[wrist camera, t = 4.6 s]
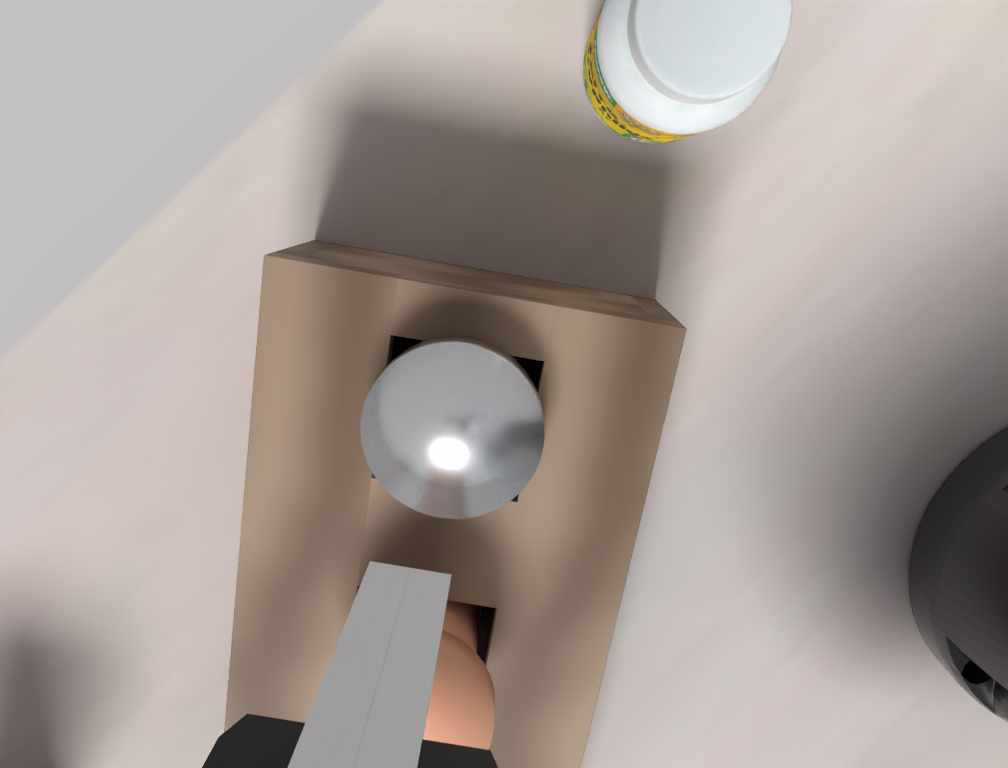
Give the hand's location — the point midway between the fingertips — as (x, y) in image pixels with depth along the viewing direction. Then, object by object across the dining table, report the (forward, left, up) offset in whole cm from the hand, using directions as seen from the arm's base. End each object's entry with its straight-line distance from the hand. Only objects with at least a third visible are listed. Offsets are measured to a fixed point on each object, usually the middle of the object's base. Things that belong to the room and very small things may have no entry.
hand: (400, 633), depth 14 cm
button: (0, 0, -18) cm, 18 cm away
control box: (0, +9, -18) cm, 21 cm away
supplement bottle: (-5, -13, -19) cm, 23 cm away
